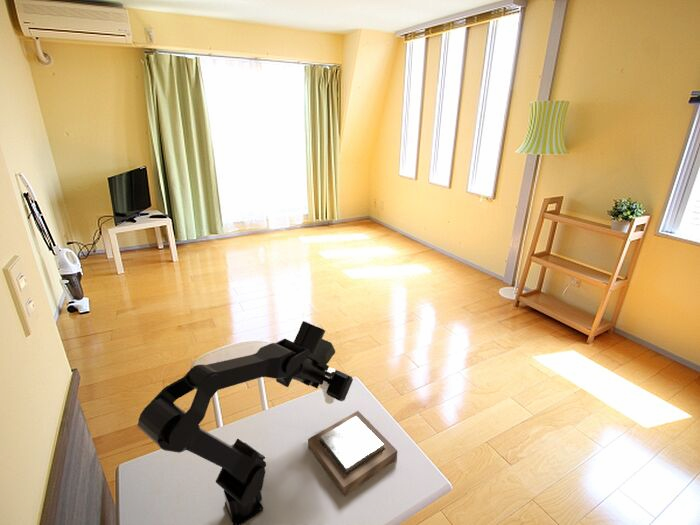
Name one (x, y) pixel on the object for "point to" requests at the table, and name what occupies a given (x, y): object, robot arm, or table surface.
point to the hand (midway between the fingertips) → (332, 380)
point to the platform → (351, 444)
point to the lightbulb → (325, 386)
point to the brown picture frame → (361, 473)
